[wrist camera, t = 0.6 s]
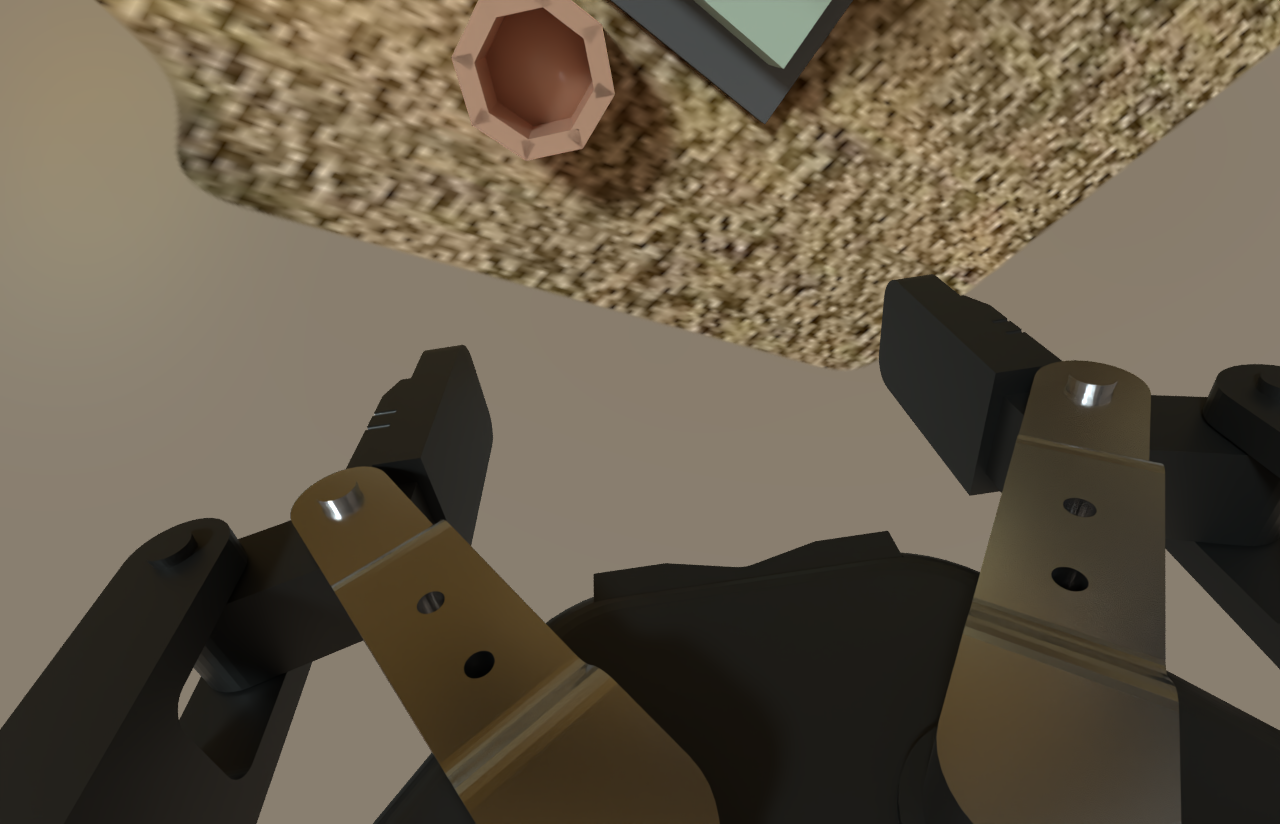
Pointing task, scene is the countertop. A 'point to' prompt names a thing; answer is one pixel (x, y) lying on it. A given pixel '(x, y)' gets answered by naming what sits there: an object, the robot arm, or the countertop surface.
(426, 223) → the countertop surface
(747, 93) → the mat
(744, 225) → the countertop surface
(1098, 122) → the countertop surface
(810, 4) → the block
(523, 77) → the bowl
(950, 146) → the countertop surface
